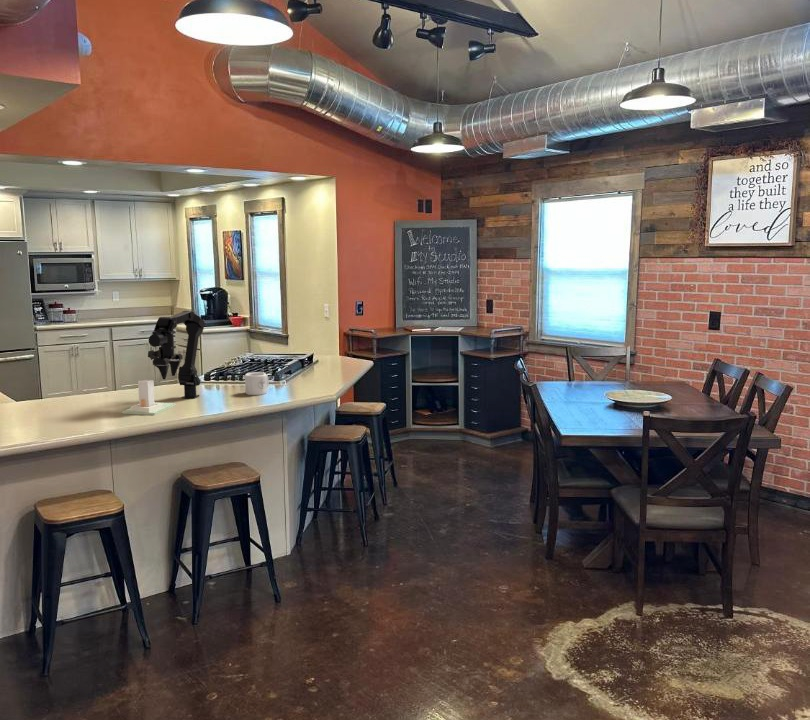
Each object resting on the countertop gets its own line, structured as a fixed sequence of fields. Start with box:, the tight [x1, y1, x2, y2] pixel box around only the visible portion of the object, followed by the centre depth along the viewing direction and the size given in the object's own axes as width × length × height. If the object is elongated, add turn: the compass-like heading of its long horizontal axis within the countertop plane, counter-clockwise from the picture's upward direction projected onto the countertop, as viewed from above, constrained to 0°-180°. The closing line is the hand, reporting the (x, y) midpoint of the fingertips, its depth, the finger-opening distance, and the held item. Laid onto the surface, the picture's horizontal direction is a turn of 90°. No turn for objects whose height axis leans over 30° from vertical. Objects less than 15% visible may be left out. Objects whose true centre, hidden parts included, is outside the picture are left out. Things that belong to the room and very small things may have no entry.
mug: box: [244, 371, 269, 396], centre depth 347 cm, size 14×11×10 cm
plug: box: [137, 379, 155, 407], centre depth 303 cm, size 5×5×13 cm
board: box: [121, 401, 176, 416], centre depth 309 cm, size 20×15×1 cm
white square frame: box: [130, 402, 163, 412], centre depth 305 cm, size 10×10×2 cm
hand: (168, 377), depth 316 cm, fingers open, 9 cm apart
